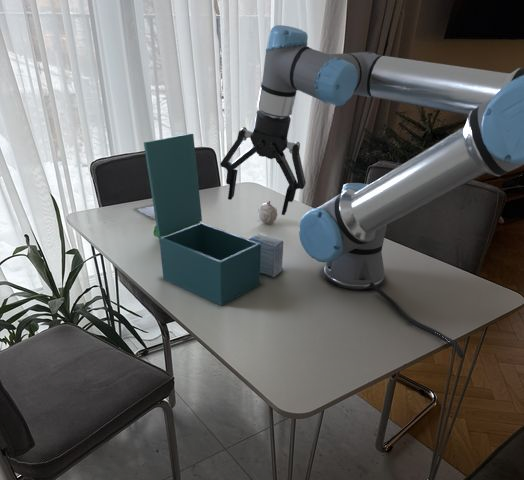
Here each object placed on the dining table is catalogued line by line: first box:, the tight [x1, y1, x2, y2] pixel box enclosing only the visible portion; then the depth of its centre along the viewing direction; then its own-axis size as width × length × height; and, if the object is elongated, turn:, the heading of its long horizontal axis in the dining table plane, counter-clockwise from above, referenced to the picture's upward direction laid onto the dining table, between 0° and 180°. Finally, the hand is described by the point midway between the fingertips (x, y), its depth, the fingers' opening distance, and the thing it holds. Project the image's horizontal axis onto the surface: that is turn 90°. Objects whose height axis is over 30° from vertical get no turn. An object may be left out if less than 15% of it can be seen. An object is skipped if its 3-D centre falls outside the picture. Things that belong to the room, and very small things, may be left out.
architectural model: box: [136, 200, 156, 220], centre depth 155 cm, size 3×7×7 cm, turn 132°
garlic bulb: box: [257, 200, 278, 225], centre depth 149 cm, size 7×6×8 cm
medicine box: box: [249, 233, 284, 278], centre depth 121 cm, size 8×4×9 cm, turn 58°
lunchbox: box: [158, 222, 261, 307], centre depth 114 cm, size 20×14×11 cm
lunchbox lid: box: [143, 133, 203, 236], centre depth 110 cm, size 20×14×1 cm
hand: (257, 205), depth 115 cm, fingers open, 13 cm apart
